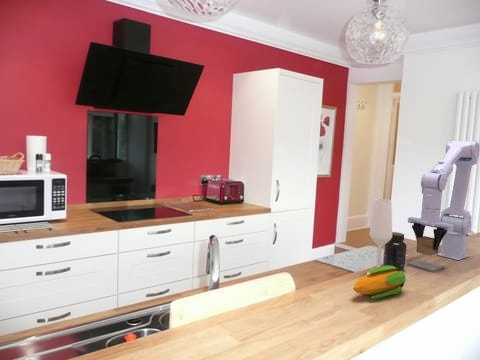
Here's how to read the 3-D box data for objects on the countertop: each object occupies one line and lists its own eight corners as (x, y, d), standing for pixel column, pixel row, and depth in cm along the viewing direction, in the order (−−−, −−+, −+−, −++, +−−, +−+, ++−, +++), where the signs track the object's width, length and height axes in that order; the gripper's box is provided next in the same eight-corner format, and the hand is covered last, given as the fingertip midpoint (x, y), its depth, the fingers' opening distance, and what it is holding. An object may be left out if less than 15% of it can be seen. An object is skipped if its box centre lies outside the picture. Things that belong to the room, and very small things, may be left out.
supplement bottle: (378, 266, 130) (380, 231, 129) (393, 264, 133) (395, 230, 131) (394, 272, 124) (397, 236, 122) (409, 270, 126) (412, 235, 125)
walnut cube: (423, 249, 135) (424, 236, 134) (438, 253, 131) (439, 239, 130) (416, 252, 131) (417, 237, 131) (430, 255, 128) (432, 241, 127)
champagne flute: (381, 280, 116) (388, 202, 114) (362, 274, 121) (367, 199, 119) (393, 276, 120) (399, 201, 118) (373, 270, 125) (379, 198, 123)
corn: (413, 265, 107) (367, 277, 96) (413, 292, 107) (367, 307, 96) (390, 260, 113) (344, 270, 102) (389, 285, 113) (344, 298, 102)
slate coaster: (418, 261, 138) (419, 259, 137) (444, 268, 130) (444, 266, 130) (407, 264, 133) (407, 262, 133) (433, 272, 126) (433, 270, 125)
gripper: (404, 205, 133) (401, 243, 134) (447, 212, 121) (444, 254, 123) (414, 204, 137) (411, 241, 138) (457, 211, 126) (453, 251, 127)
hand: (427, 247), depth 131 cm, fingers closed on walnut cube, 5 cm apart
